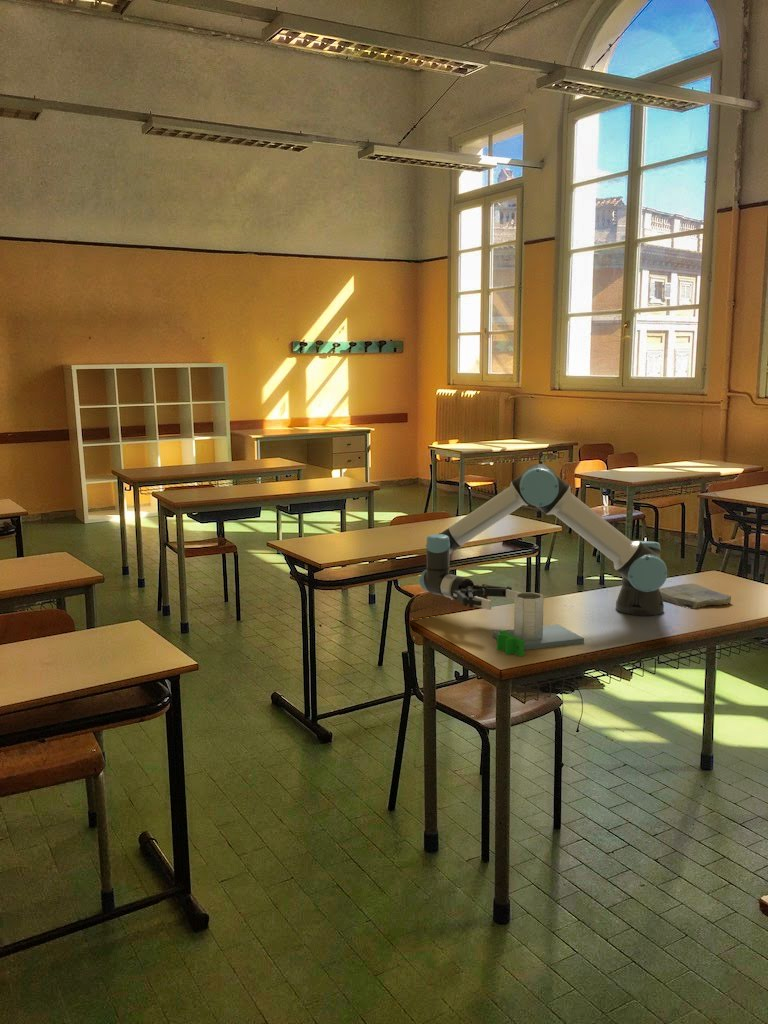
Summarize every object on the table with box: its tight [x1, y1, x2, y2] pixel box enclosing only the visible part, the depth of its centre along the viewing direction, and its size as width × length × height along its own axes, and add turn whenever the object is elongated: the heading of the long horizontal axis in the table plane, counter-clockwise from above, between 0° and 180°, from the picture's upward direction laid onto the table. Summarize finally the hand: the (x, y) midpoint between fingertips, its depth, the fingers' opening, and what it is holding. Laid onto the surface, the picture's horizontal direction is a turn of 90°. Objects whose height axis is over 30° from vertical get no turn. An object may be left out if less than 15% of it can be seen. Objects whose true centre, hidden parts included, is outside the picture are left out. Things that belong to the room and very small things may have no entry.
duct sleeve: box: [513, 591, 545, 640], centre depth 250 cm, size 8×8×12 cm
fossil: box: [659, 583, 732, 609], centre depth 294 cm, size 20×5×17 cm
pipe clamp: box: [496, 629, 525, 657], centre depth 242 cm, size 11×4×5 cm, turn 24°
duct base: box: [492, 624, 585, 651], centre depth 251 cm, size 22×15×8 cm
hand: (506, 601), depth 256 cm, fingers open, 13 cm apart
